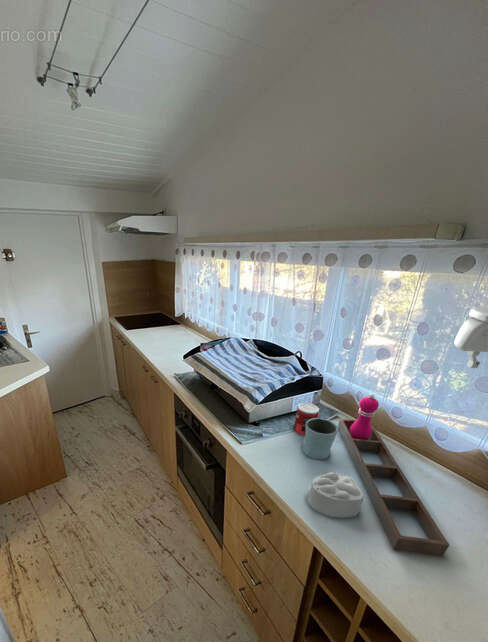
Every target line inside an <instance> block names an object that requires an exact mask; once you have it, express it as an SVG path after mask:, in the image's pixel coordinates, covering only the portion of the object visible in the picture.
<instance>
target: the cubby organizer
mask: <svg viewBox="0 0 488 642" xmlns="http://www.w3.org/2000/svg"><path fill="white" fill-rule="evenodd" d="M356 420H357V419H349V418H339V421H338V425H337V427H338V432H339V434H340V436H341V437H342V440H343V442H344V445H345V447H346V450H347V451H348V454H349V456H350V458H351V460H352V462H353V465H354V467H355V469H356V472H357V473H358V476H359V478H360V480H361V482H362V484H363V486H364V489H365V491H366V493H367V496H368V498H369V500H370V503H371V505H372V507H373V509H374V511H375V513H376V516H377V517H378V520H379V522H380V524H381V527H382V529H383V531H384V533H385V535H386V537H387V540H388V542H389V544H390V547H391V549H392V550H393V551H401V552H406V553H413V554H414V553H415V554H421V555H428V556H434V557H435V556H436V557H444V556H445V554H446V552H447V550H448V549H449V548H450V544H449V541H447V539H446V537H445V536H444V534H443V533H442V531H441V530H440V528H439V527H438V525H437V524H436V522H435V520H434V519H433V517H432V515H431V514H430V512H429V511H428V510H427V507H426V506H425V504H424V503H423V501H422V500H421V498H420V497H419V495H418V493H417V492H416V491H415V489H414V487H413V486H412V484H411V482H409V479H408V478H407V476H406V475H405V474H404V472H403V470H402V469H401V467H400V465H399V463H398V462H397V461H396V459H395V458H394V456H393V455H392V453H391V451H390V450H389V448H388V447H387V445H386V444H385V442H384V441H383V439H382V438H381V436H380V434H379V433H378V431H377V430H376V428H375V427H374V425H373V423H372V422H371V421H370V424H371V428H372V434H371V436H370V437H369V438H368V440H361V439H352V437H351V435H350V434H351V433H350V427H351V425H352V424H353V423H354V422H355V421H356ZM360 452H370V453H377V454H378V456H379V457H380V459H381V460H382V462H383V464H376V463H366V462H365V460H364V458H363V456H362V455H361V453H360ZM373 477H374V478H385V479H392V480H393V481H394V483H395V485H396V487H397V488H398V491H400V493H401V495H402V496H397V495H390V494H389V495H387V494H381V493H380V491H379V489H378V487H377V485H376V482H375V481H374V479H373ZM389 510H393V511H402V512H410V513H412V514H413V515H414V517H415V519H416V521H417V522H418V524H419V526H420V527H421V529H422V531H423V533H424V534H425V536H426V537H427V538H423V537H415V536H407V535H401V533H400V531H399V529H398V527H397V525H396V523H395V520H394V518H393V517H392V514H391V513H390V511H389Z"/></svg>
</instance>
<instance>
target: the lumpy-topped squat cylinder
mask: <svg viewBox="0 0 488 642" xmlns="http://www.w3.org/2000/svg"><path fill="white" fill-rule="evenodd" d="M357 483H358V482H357V481H356V480H355V479H354V478H353V477H351V476H349V475H346V474H340V473H336V472H333V471H330V472H327V473H325V474H324V473H323V474H321V475H319V476H317V477H315V478H314V479H313V481H312V482H311V485H310V490H309V493H308V498H307V503H308V504H309V506H310V507H311V508H312V509H314V510H315V511H317V512H318V513H320V514H322V515H325V516H328V517H331V518H353V517H356V516H357V515H358V514H359V512H360V510H361V507H362V504H363V501H364V498H365V494H364V492H363V491H362V489H361V488H360V487H359V486H358V484H357Z"/></svg>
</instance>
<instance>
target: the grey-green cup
mask: <svg viewBox="0 0 488 642" xmlns="http://www.w3.org/2000/svg"><path fill="white" fill-rule="evenodd" d="M338 432H339V429H338V425H337V424H336V423H334V422H333V421H331V420H329V419H326V418H322V417H318V418H312V419H310V420H308V421H307V422H306V432H305V433H306V435H304V439H303V448H302V451H303V453H304V454H305V455H306V456H308V457H310V458H312V459H315V460H324V459H327V458H328V457H329V456H330V454H331V453H330V452H331V448H332V446H333V444H334V442H335V438H336V435H337V433H338Z"/></svg>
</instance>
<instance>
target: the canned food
mask: <svg viewBox="0 0 488 642" xmlns="http://www.w3.org/2000/svg"><path fill="white" fill-rule="evenodd" d="M319 413H320V407H318V406H317V405H316V404H314V403H311V402H301V403H299V404H298V405H297V407H296V412H295V419H294V425H293V429H294V431H295V432H296V433H297V434H299V435H302V436H305V435H306V433H305V432H306V422H307V421H308V420H310V419H312V418H319Z"/></svg>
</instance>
